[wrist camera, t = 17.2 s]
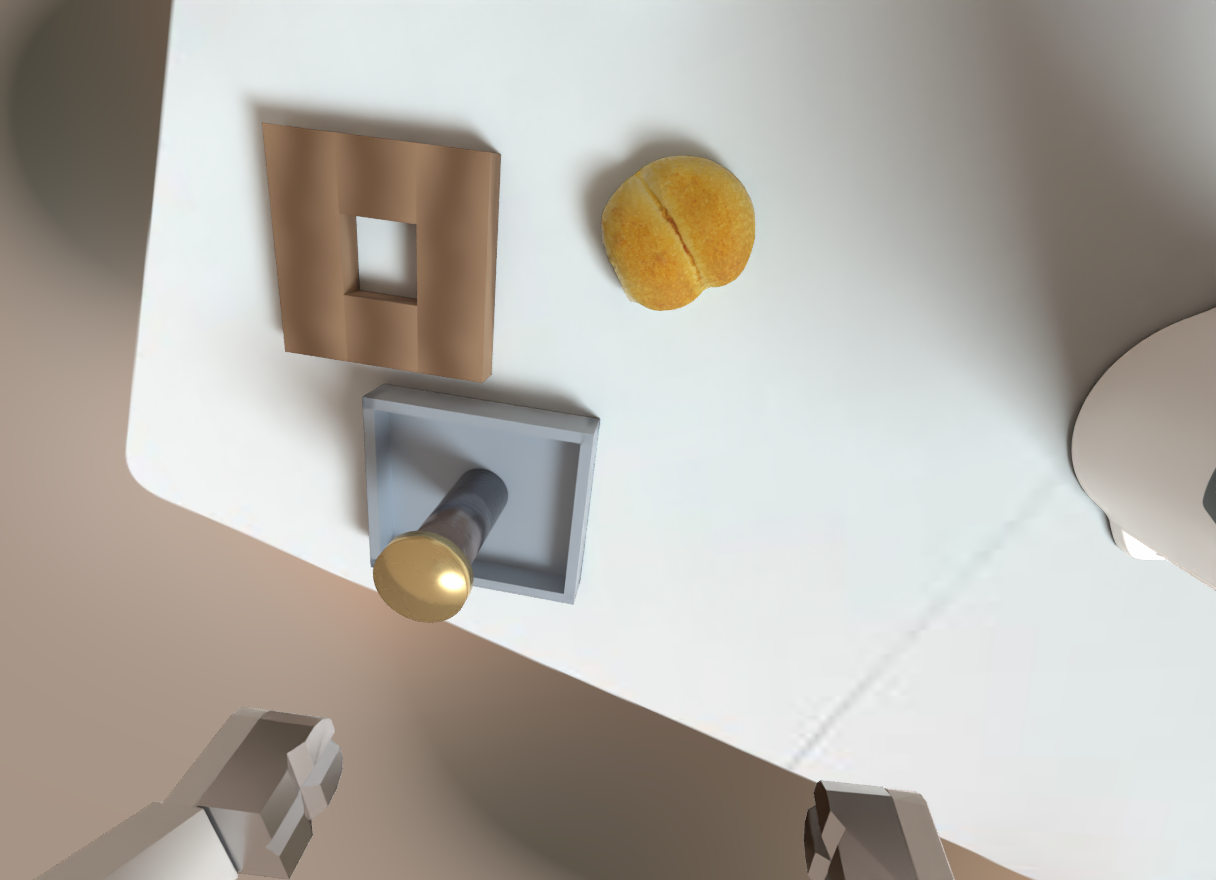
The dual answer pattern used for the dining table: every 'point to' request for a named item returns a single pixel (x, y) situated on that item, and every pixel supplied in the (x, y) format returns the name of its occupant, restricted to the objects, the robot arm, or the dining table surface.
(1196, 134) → the dining table surface
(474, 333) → the socket block
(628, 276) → the bread roll
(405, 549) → the pin
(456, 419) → the tray
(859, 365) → the dining table surface
